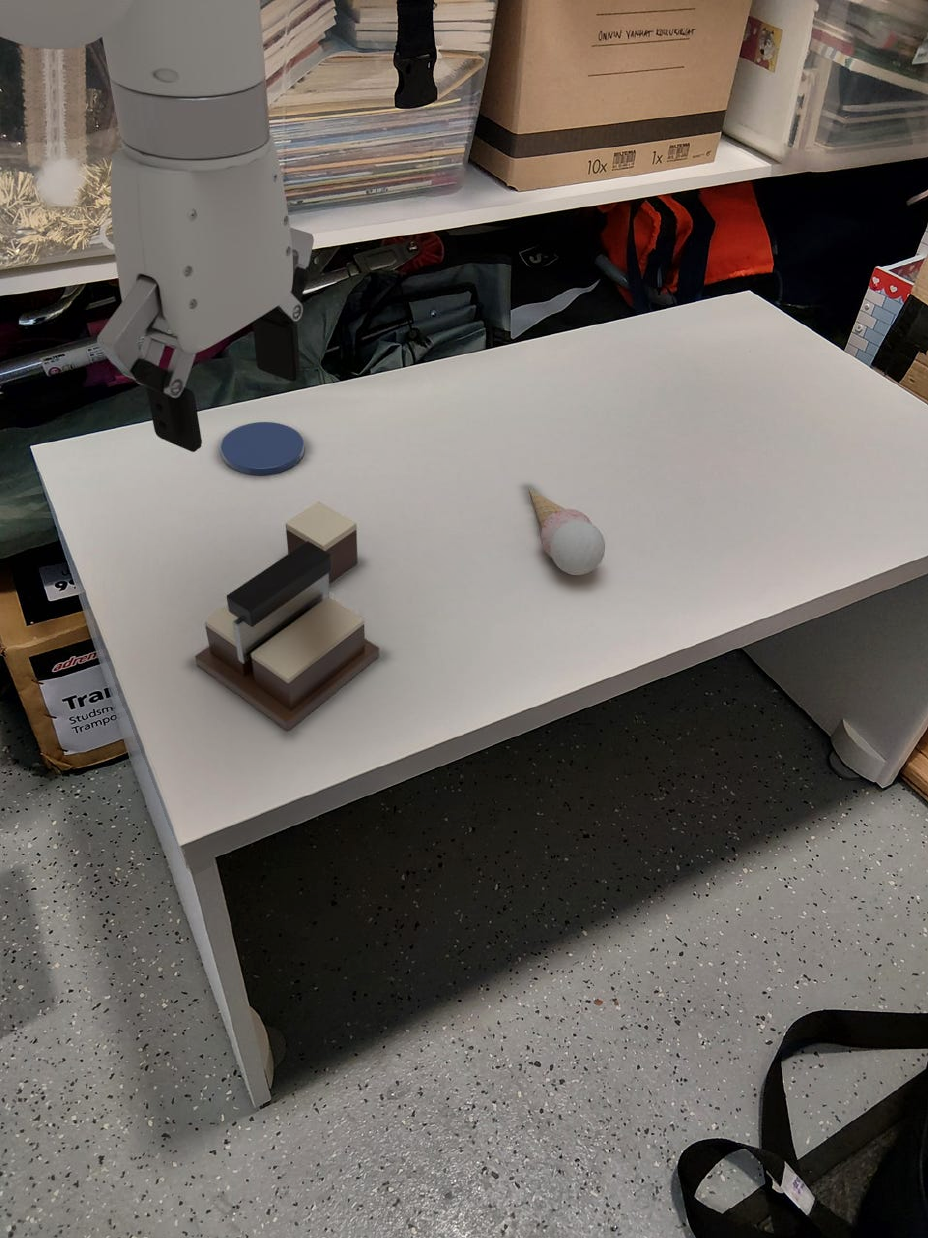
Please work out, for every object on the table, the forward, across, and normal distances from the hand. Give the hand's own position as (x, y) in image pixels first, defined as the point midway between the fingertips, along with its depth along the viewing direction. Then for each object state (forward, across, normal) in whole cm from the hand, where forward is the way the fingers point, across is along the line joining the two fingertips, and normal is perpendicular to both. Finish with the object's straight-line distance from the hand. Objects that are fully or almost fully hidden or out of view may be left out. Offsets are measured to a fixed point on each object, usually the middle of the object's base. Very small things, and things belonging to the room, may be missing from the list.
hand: (231, 406), depth 60 cm
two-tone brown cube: (+21, -10, -1) cm, 24 cm away
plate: (+21, -20, -16) cm, 33 cm away
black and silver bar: (+18, +1, +3) cm, 18 cm away
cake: (+21, +1, +3) cm, 22 cm away
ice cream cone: (+22, -24, +14) cm, 35 cm away
